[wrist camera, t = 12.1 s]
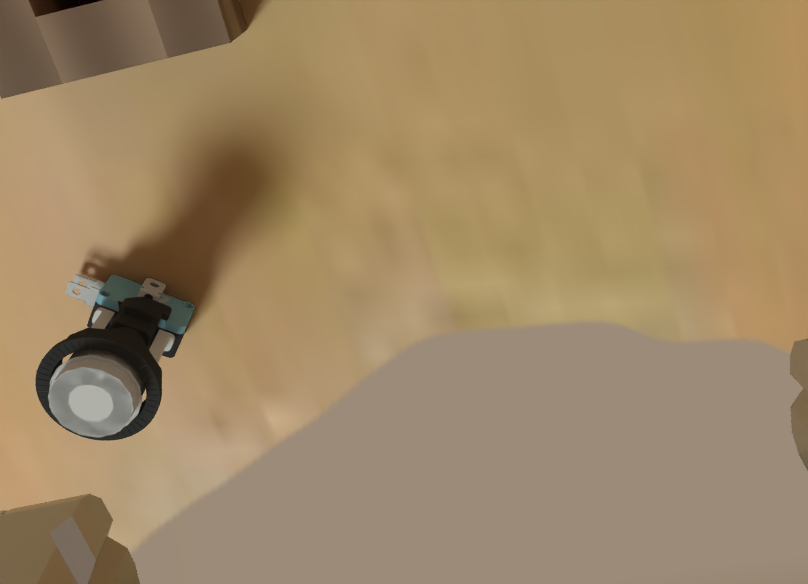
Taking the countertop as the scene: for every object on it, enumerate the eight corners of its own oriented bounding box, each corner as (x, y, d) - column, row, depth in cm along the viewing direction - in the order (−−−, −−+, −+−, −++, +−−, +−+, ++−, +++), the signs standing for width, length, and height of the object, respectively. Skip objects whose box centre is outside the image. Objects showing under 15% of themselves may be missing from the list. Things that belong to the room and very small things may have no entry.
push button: (63, 315, 42) (-19, 419, 33) (91, 232, 40) (11, 318, 31) (180, 358, 43) (132, 469, 34) (213, 280, 42) (171, 376, 32)
